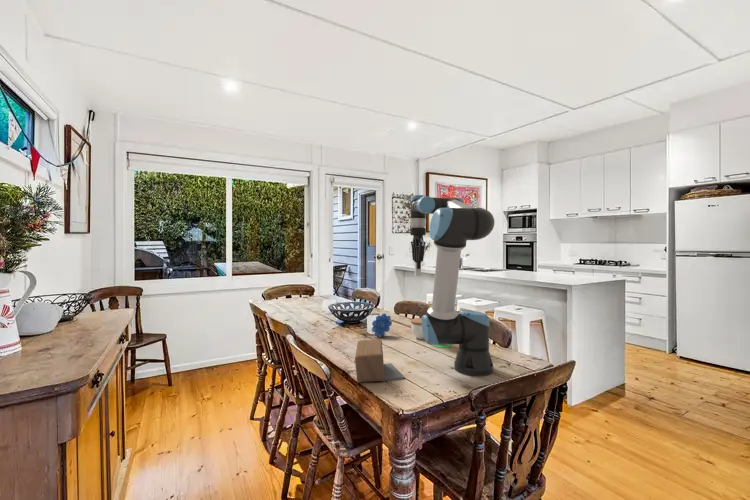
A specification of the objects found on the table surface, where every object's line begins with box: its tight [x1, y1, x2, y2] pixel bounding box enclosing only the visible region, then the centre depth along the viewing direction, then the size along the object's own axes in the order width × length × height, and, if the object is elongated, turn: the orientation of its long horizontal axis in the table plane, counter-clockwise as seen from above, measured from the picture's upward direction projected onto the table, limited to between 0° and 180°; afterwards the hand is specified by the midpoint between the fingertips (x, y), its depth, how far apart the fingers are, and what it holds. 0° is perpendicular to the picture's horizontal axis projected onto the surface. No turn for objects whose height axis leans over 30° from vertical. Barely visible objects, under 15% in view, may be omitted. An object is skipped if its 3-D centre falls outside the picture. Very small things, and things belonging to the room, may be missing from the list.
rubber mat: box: [381, 363, 406, 382], centre depth 144 cm, size 16×10×1 cm, turn 16°
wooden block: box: [354, 338, 385, 383], centre depth 143 cm, size 10×10×20 cm
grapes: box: [371, 313, 393, 337], centre depth 200 cm, size 12×7×12 cm, turn 111°
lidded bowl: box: [410, 317, 425, 340], centre depth 196 cm, size 13×13×11 cm
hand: (417, 275), depth 181 cm, fingers closed
